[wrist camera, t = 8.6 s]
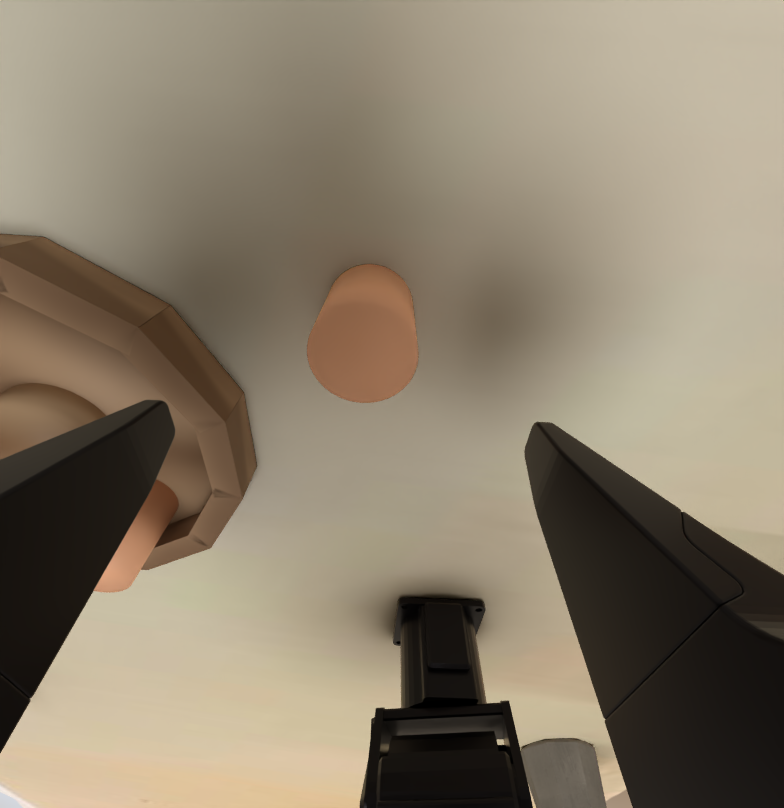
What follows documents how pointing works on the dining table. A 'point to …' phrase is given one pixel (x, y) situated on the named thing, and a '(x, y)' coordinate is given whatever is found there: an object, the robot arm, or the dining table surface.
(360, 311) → the bead
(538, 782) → the coffeepot
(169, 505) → the bead
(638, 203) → the dining table surface
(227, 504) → the groove tray
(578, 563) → the robot arm
